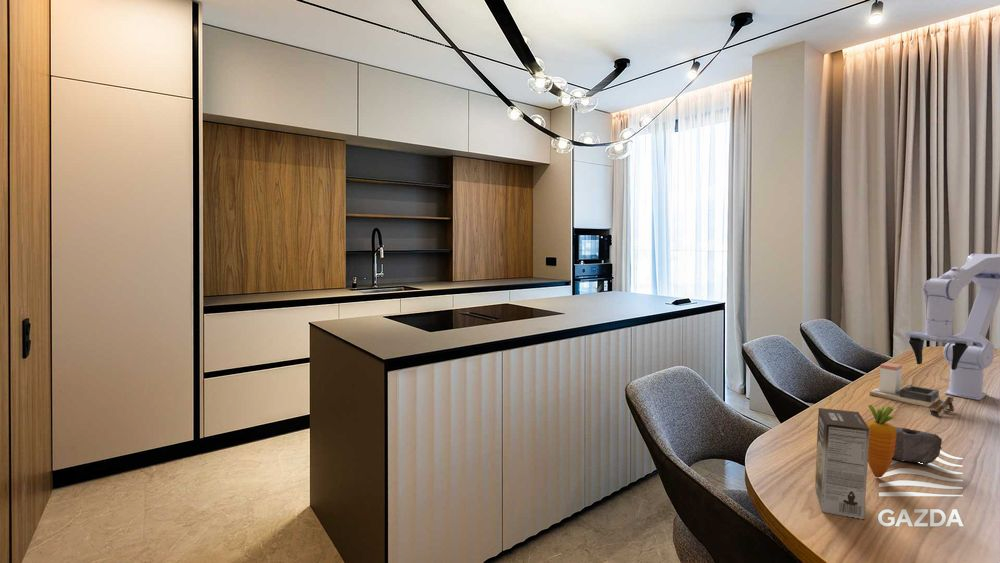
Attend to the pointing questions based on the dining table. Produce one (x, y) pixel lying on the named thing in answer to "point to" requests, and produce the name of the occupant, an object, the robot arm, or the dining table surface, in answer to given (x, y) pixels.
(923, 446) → the perforated stone tool
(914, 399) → the board
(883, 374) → the plug
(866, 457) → the coffee box
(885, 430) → the carrot
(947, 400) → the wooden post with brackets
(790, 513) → the dining table surface
